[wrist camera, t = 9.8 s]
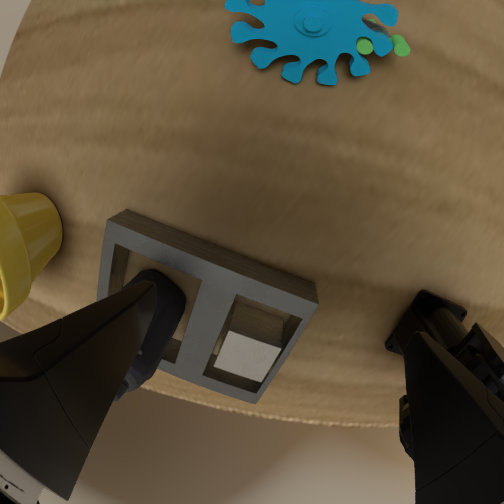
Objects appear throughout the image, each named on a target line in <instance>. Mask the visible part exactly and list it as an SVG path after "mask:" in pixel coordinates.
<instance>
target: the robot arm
mask: <svg viewBox="0 0 504 504" xmlns="http://www.w3.org/2000/svg"><path fill="white" fill-rule="evenodd" d="M424 295H425V297H423V296H424ZM156 304H157V301H156V284H155V283H153V282H149V281H145V280H144V281H141V282H139V283H136V284H134V285H132V286H130V287H128V288H125V289H123V290H121V291H119V292H117V293H114V294H112V295H110V296H108V297H106V298H103V299H101V300H99V301H97V302H95V303H93V304H90V305H88V306H86V307H84V308H82V309H80V310H77V311H75V312H73V313H71V314H69V315H67V316H65V317H63V318H62V319H61V318H60V319H58V320H56V321H54V322H52V323H49V324H47V325H45V326H43V327H40V328H38V329H35V330H33V331H30V332H28V333H25V334H22V335H20V336H17V337H14V338H12V339H9V340H6V341H3V342H1V343H0V504H40V503H39V501H38V498H39V496H40V494H41V492H42V490H43V488H46V489H47V490H49V491H51V492H52V493H54V494H56V495H58V496H59V497H61V498H63V499H65V500H66V501H68V500H69V498H70V496H71V493H72V491H73V488H74V486H75V484H76V481H77V479H78V476H79V474H80V472H81V470H82V467H83V465H84V463H85V460H86V458H87V456H88V454H89V451H90V449H91V447H92V445H93V442H94V440H95V438H96V436H97V434H98V432H99V429H100V427H101V425H102V423H103V421H104V419H105V417H106V415H107V413H108V410H109V408H110V406H111V404H112V402H113V400H114V398H115V396H116V394H117V392H118V390H119V388H120V386H121V384H122V382H123V380H124V378H125V376H126V374H127V372H128V370H129V369H130V367H131V365H132V363H133V361H134V359H135V357H136V355H137V353H138V351H139V349H140V347H141V345H142V343H143V340H144V337H145V335H146V332H147V330H148V327H149V324H150V322H151V319H152V317H153V314H154V312H155V309H156ZM466 315H467V311H466V310H465V308H463V307H461V306H459V305H457V304H455V303H453V302H451V301H448V300H446V299H444V298H442V297H440V296H438V295H436V294H434V293H432V292H429V291H427V290H422V291H421V292H420V293H419V294H418V296H417V297H416V299H415V300H414V302H413V304H412V305H411V307H410V308H409V310H408V311H407V312H406V314H405V315H404V317H403V318H402V320H401V321H400V323H399V324H398V326H397V327H396V328H395V330H394V331H393V333H392V334H391V336H390V337H389V338H388V340H387V341H386V343H385V348H386V350H388V351H391V352H395V353H398V354H401V355H403V357H404V364H405V378H406V391H407V395H404V396H403V397H401V398H400V399H399V436H400V441H401V443H402V445H403V446H404V448H405V452H406V453H407V454H408V455H409V456H410V457H411V458H412V459H413V461H414V467H415V490H416V492H415V502H416V503H415V504H504V348H503V347H502V346H501V344H500V343H499V342H498V341H497V340H496V339H495V338H494V337H492V336H491V335H490V334H489V333H488V332H487V331H486V330H485V329H484V328H482V327H481V326H480V325H479V324H478V323H477V322H476V323H475V324H474V325H473V326H472V329H471V330H470V332H469V333H468V331H467V330H466V328H465V327H464V326H463V324H462V321H463V320H464V318H465V317H466ZM390 344H392V345H390ZM389 345H390V346H389Z"/></svg>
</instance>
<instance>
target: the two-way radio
mask: <svg viewBox="0 0 504 504" xmlns="http://www.w3.org/2000/svg"><path fill="white" fill-rule="evenodd" d="M144 280H145V281H149V282H153V283H155V284H156V301H157V304H156V309H155V312H154V314H153V317H152V319H151V322H150V324H149V327H148V330H147V332H146V335H145V337H144V340H143V343H142V345H141V347H140V349H139V351H138V353H137V355H136V357H135V359H134V361H133V363H132V365H131V367H130V369H129V370H128V372H127V374H126V376H125V378H124V380H123V382H122V384H121V386H120V388H119V390H118V392H117V394H116V396H115V398H114V400H113V401H118V400H119V399H120V398H121V396H122V395H123V394H124V393H125V392H130V391H133V390H135V389H137V388H138V387H140V386H141V385H142V384H143V383H144V382H145V381H146V380H148V379H150V378H151V377H152V376H153V374H154V372H155V371H156V369H157V367H158V365H159V363H160V361H161V359H162V358H163V357H162V356H163V354H164V351H165V349H166V347H167V346H168V344H169V342H170V340H171V338H172V336H173V334H174V332H175V330H176V328H177V326H178V323H179V321H180V319H181V317H182V315H183V313H184V310H185V299H184V296H183V294H182V293H181V292H180V291H179V290H178V289H177V288H176V287H175V286H174V285H173V284H172V283H171V282H170V281H169V280H167V279H166V278H165V277H164V276H162V275H161V274H160V273H158V272H156V271H152V270H148V271H142V272H140V273H139V274H137V275H136V276H135V277H134V278H133V279H132V280H131V281H130V282H129V283H127V284H126V285H125V286H124V287H123V288H122V289H121V290H123V289H125V288H128V287H130V286H132V285H134V284H136V283H139V282H141V281H144ZM121 290H120V291H121Z"/></svg>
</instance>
